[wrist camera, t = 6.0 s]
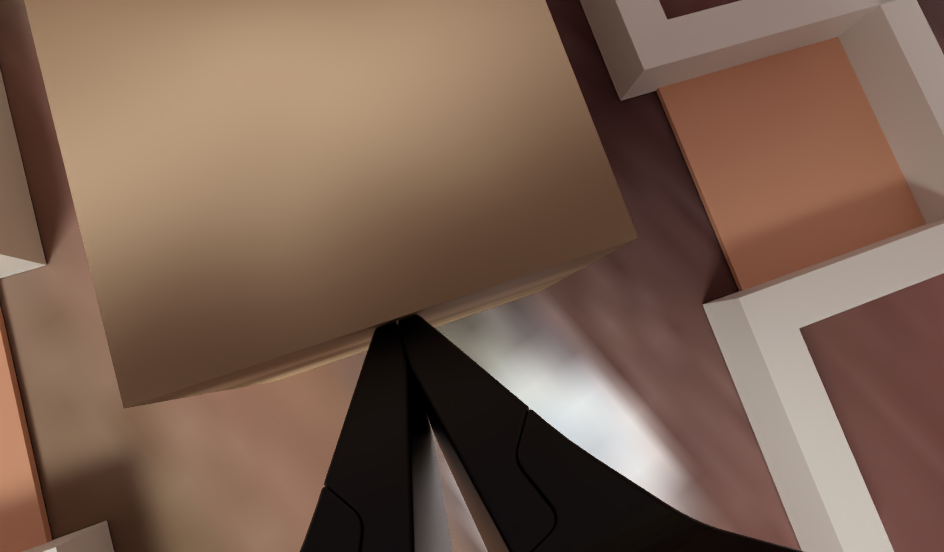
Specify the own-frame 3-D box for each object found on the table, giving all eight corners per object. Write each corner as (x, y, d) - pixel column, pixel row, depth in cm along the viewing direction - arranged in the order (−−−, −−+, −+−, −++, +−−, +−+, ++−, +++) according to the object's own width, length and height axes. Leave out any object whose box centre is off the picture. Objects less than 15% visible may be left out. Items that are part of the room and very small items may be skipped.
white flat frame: (1075, 470, 17) (1208, 494, 15) (-281, 1118, 11) (-525, 1382, 9) (734, -241, 21) (784, -337, 18) (-423, -31, 15) (-625, -123, 12)
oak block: (537, 292, 17) (638, 237, 9) (276, 380, 15) (123, 408, 8) (404, -79, 19) (389, -398, 11) (160, -27, 17) (-62, -347, 9)
